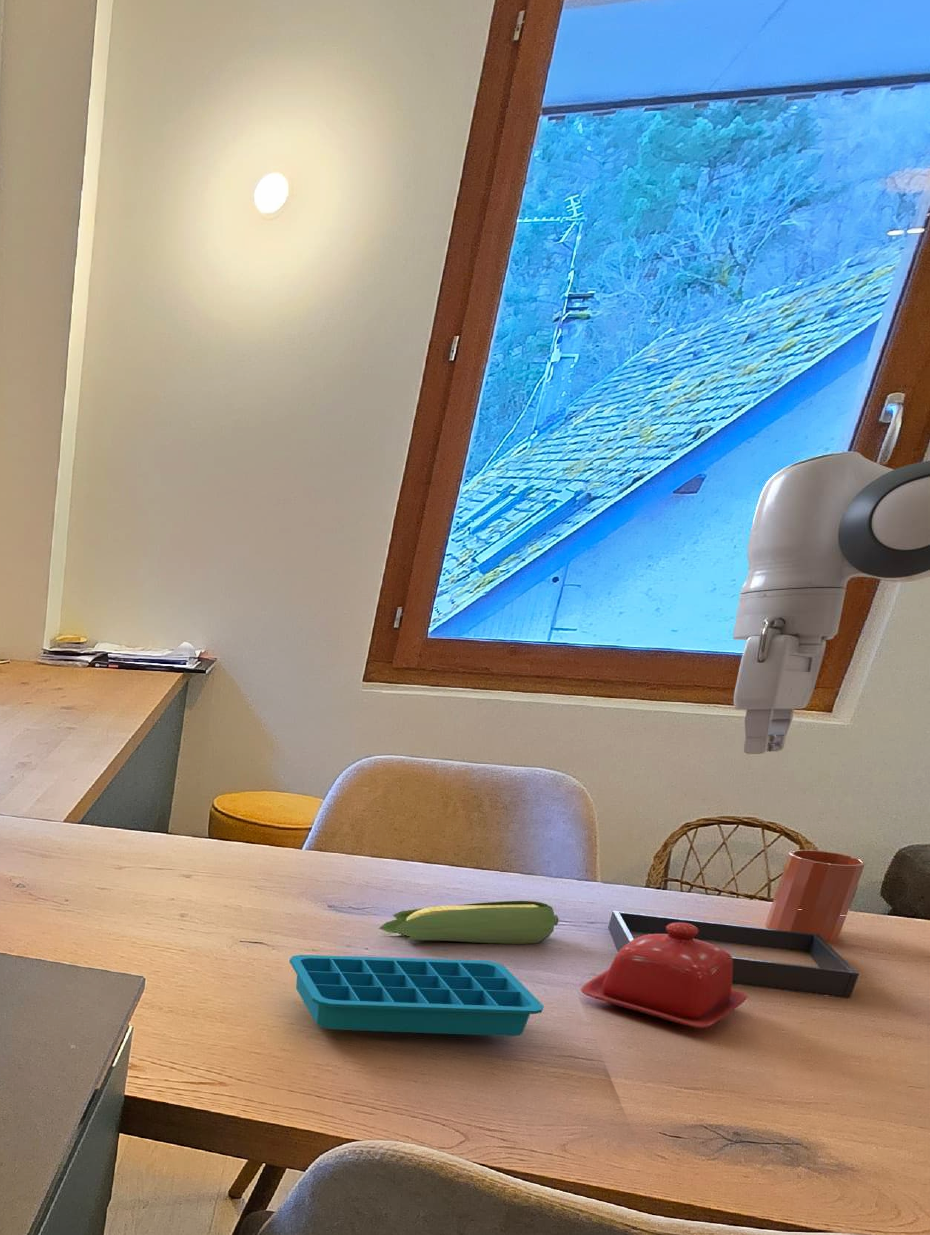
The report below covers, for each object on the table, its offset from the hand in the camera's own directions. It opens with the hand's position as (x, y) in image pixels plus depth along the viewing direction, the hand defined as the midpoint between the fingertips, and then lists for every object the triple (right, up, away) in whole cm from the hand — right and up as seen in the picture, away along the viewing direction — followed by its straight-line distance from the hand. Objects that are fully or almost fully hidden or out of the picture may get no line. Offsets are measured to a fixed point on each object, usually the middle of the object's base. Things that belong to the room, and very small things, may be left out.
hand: (763, 752), depth 129 cm
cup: (+7, -21, +4) cm, 22 cm away
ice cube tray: (-47, -28, -15) cm, 57 cm away
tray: (-7, -24, -3) cm, 25 cm away
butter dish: (-21, -28, -13) cm, 37 cm away
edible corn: (-31, -21, +4) cm, 38 cm away
